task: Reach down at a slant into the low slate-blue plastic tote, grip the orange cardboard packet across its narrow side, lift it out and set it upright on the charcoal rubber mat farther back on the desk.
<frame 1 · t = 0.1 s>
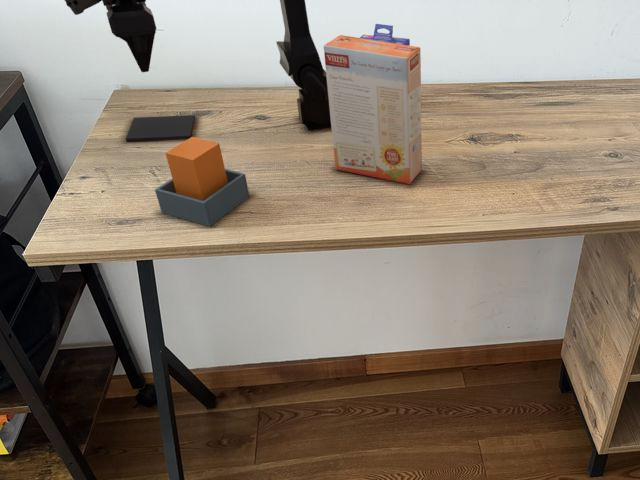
hand: (142, 61, 111), 15 cm above the table, tool pointing down, fingers open, 9 cm apart
ink cartridge box: (385, 103, 139), on the table
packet: (205, 201, 107), resting on tote
tote: (206, 204, 107), on the table
mat: (162, 129, 126), on the table
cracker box: (378, 171, 118), on the table
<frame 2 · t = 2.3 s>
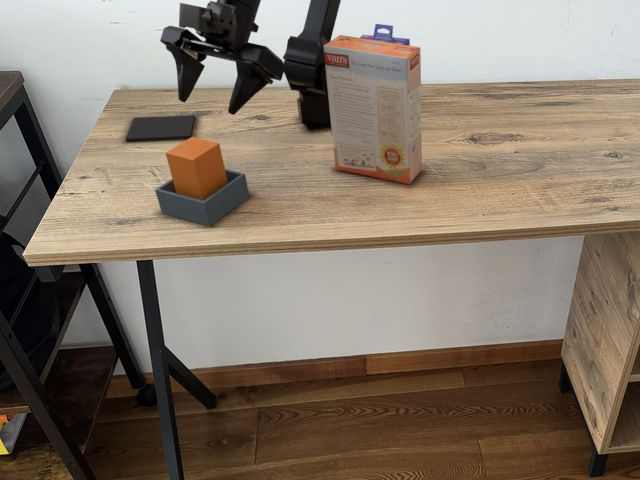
hand: (205, 107, 102), 13 cm above the table, tool tilted 45°, fingers open, 9 cm apart
nothing on the table moved.
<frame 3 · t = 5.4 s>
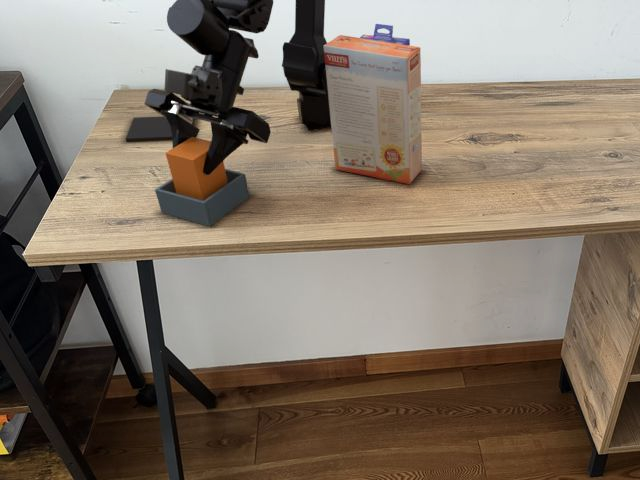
hand: (191, 169, 102), 7 cm above the table, tool tilted 45°, fingers closed on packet, 5 cm apart
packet: (205, 201, 107), point 1 cm above the table, touching gripper, tote
everything else where it was.
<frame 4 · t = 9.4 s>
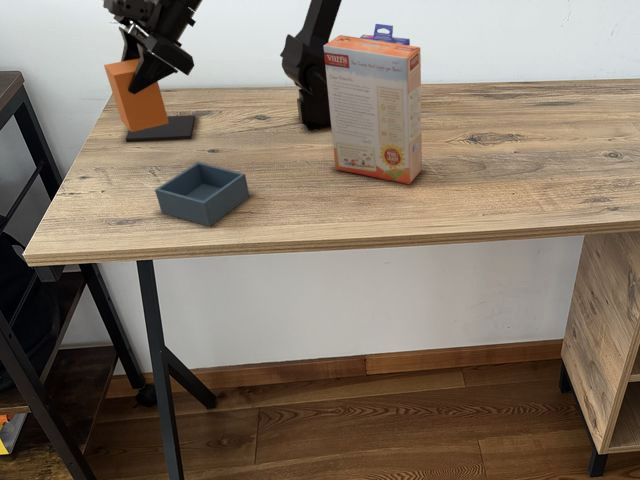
hand: (125, 86, 106), 14 cm above the table, tool tilted 45°, fingers closed on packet, 5 cm apart
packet: (145, 122, 111), point 7 cm above the table, touching gripper
everything else where it was.
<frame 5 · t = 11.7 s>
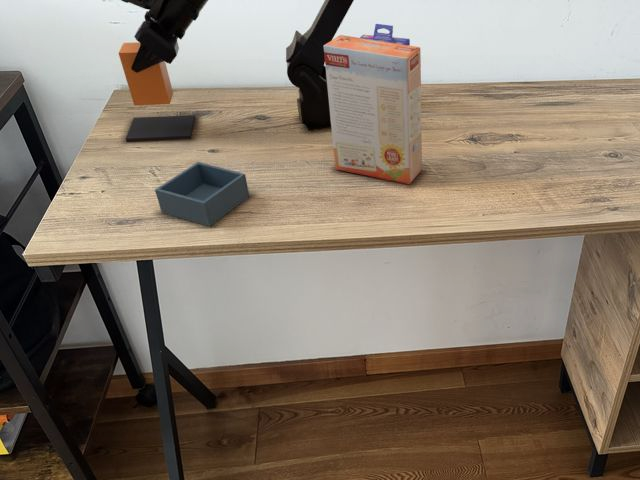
hand: (136, 64, 118), 12 cm above the table, tool tilted 45°, fingers closed on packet, 5 cm apart
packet: (154, 99, 122), point 6 cm above the table, touching gripper
everything else where it was.
when the fingers open (7 cm above the table, at t = 13.6 s): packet stays where it is, resting on mat.
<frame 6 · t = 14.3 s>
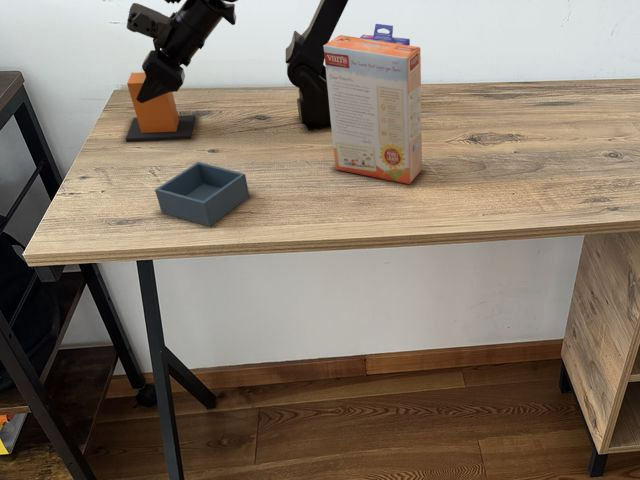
hand: (143, 90, 121), 7 cm above the table, tool tilted 45°, fingers open, 9 cm apart
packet: (160, 126, 126), point 1 cm above the table, touching mat
everything else where it was.
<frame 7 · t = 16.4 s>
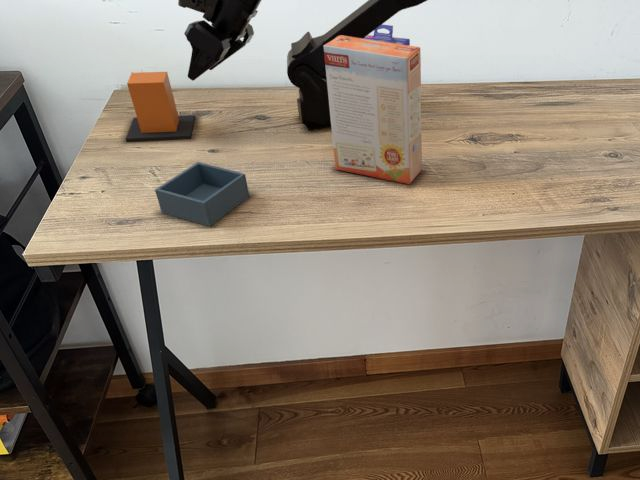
hand: (199, 73, 121), 10 cm above the table, tool tilted 35°, fingers open, 9 cm apart
nothing on the table moved.
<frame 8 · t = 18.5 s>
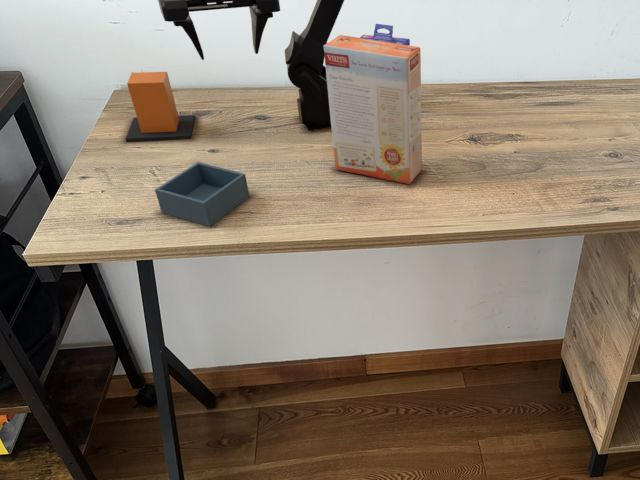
hand: (229, 56, 119), 13 cm above the table, tool pointing down, fingers open, 9 cm apart
nothing on the table moved.
at the end: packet inside the target area on the mat (0.1 cm from its centre), point 0.6 cm above the mat's base; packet tilted 0°; the gripper is holding nothing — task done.
